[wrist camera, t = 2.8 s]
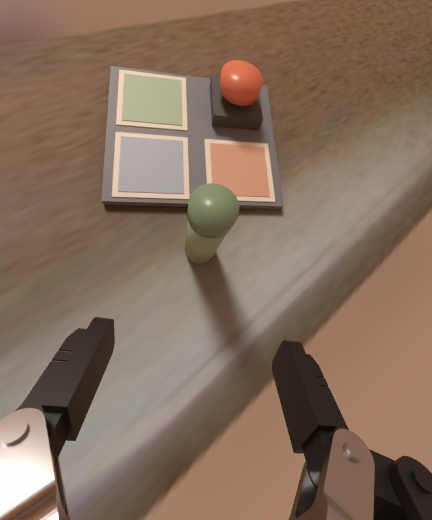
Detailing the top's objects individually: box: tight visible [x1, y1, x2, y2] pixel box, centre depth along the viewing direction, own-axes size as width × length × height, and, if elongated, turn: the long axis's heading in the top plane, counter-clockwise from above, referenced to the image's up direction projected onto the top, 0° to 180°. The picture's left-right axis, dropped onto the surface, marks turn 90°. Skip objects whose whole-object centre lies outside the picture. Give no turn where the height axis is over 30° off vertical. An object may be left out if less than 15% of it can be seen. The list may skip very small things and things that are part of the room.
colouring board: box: [101, 66, 283, 209], centre depth 26 cm, size 20×18×2 cm
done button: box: [219, 60, 263, 106], centre depth 26 cm, size 5×5×3 cm
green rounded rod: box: [185, 183, 239, 264], centre depth 19 cm, size 3×3×10 cm
